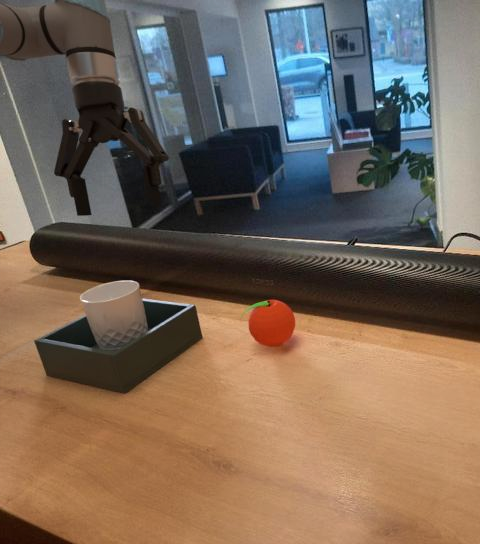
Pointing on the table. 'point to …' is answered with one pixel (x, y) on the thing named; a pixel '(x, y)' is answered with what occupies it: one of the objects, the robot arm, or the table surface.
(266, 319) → the clementine
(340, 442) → the table surface
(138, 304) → the white cup
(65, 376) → the open dark box
